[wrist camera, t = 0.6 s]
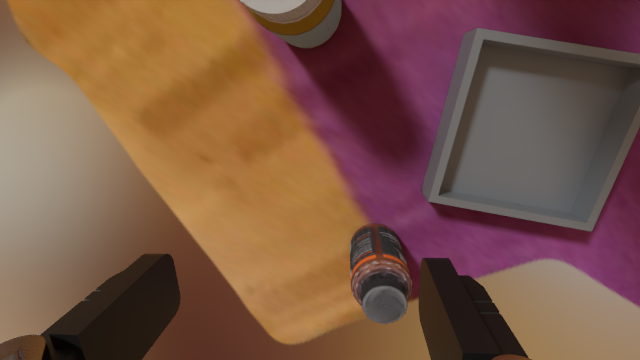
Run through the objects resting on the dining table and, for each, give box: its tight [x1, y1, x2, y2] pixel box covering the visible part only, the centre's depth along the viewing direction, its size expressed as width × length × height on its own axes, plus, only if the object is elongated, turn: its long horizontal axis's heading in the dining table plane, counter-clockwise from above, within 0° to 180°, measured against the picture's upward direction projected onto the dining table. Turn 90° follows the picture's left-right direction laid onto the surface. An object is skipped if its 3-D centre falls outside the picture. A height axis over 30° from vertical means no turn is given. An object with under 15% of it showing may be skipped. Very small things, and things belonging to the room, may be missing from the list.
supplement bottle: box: [350, 224, 412, 324], centre depth 34 cm, size 6×6×11 cm
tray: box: [421, 28, 640, 232], centre depth 32 cm, size 17×17×4 cm
